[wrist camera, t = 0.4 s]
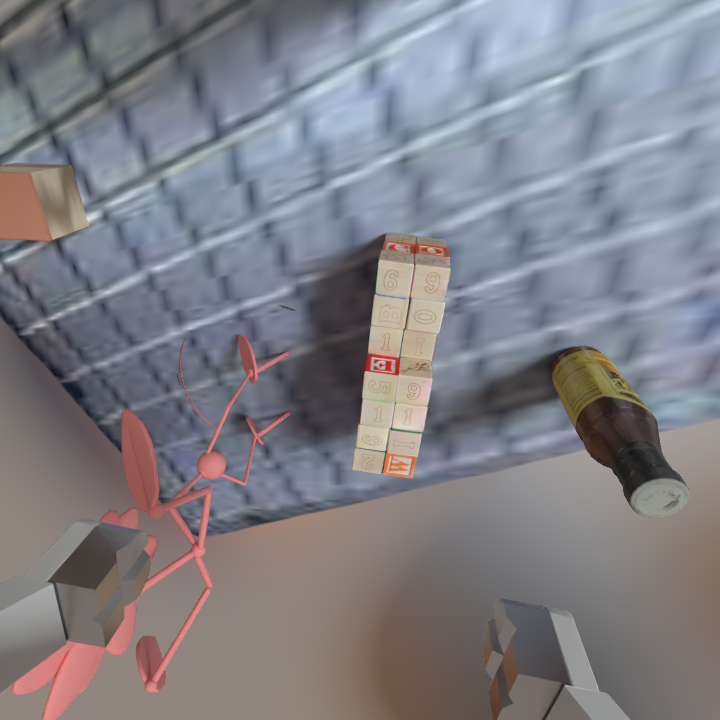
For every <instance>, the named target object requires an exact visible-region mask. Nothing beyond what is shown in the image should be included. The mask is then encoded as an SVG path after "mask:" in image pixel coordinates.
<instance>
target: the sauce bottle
mask: <svg viewBox="0 0 720 720" xmlns="http://www.w3.org/2000/svg"><path fill="white" fill-rule="evenodd" d="M551 374H552V379H553V384H554V387H555V389H556V391H557V393H558V395H559V397H560V399H561V401H562V403H563V405H564V407H565V409H566V411H567V413H568V415H569V418H570V420H571V422H572V424H573V426H574V428H575V430H576V432H577V433H578V435H579V437H580V439H581V440H582V441H583V442H584V445H585V447H586V450H587V451H588V453H589V454H590V455H591V457H592V458H594V459H595V460H596V461H597V462H599V463H600V464H602V465H603V466H606V467H609V468H611V469H612V470H613V472H614V474H615V475H616V476H617V477H618V479H619V481H620V483H621V484H622V486H623V492H624V496H625V497H626V499H627V501H628V503H629V504H630V506H631V507H632V509H633V510H634V511H635V512H636V513H638V514H640V515H642V516H648V517H654V518H658V517H664V516H668V515H671V514H674V513H676V512H677V511H679V510H680V509H681V508H682V507H683V506H684V505H685V504H686V502H687V501H688V498H689V489H688V487H687V485H686V484H685V482H684V481H683V479H682V477H681V476H680V475H679V474H678V473H677V472H676V471H674V470H673V469H672V468H671V467H670V465H669V464H668V463H667V461H666V460H665V458H664V456H663V454H662V451H661V445H660V439H659V433H658V425H657V421H656V419H655V417H654V416H653V414H652V413H651V412H650V410H649V409H648V408H647V407H646V405H645V404H644V403H643V401H642V400H641V399H640V398H639V396H638V395H637V394H636V392H635V391H634V390H633V389H632V387H631V386H630V385H629V383H628V382H627V381H626V380H625V379H624V377H623V376H622V375H621V373H620V372H619V371H618V370H617V368H616V367H615V366H614V364H613V363H612V362H611V361H610V359H609V358H608V357H607V356H605V355H604V354H602V353H601V352H599V351H598V350H596V349H594V348H592V347H585V346H584V347H576V348H572V349H569V350H567V351H565V352H564V353H562V354H561V355H560V356H559V357H558V358H556V360H555V361H554V363H553V364H552V370H551Z"/></svg>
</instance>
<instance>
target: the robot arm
mask: <svg viewBox="0 0 720 720" xmlns="http://www.w3.org/2000/svg"><path fill="white" fill-rule="evenodd" d="M148 543H149V541H148V535H147V532H145V531H140V530H136V529H131V528H127V527H122V526H118V525H113V524H109V523H104V522H99V521H94V520H89V519H84V518H82V519H80V520H78V521H76V522H74V523H73V524H72V525H71V526H70V527H69V529H67V530H66V532H65V533H64V534H63V535H62V536H61V537H60V538H59V539H58V540H57V541H56V542H55V543H54V544H53V545H52V546H51V547H50V548H49V549H48V550H47V551H46V553H45V554H44V555H43V556H42V557H41V558H40V559H39V560H38V561H37V562H36V563H35V564H34V565H33V566H32V567H31V568H30V569H29V570H28V571H27V573H25V575H24V576H23V577H20V576H14V577H12V578H10V579H8V580H6V581H4V582H2V583H0V693H1V692H2V691H3V690H5V689H6V688H8V687H9V686H10V685H12V684H13V683H14V682H16V681H17V680H18V679H20V678H21V677H23V676H24V675H25V674H27V673H28V672H29V671H31V670H32V669H33V668H35V667H36V666H37V665H39V664H40V663H41V662H43V661H44V660H46V659H47V658H48V657H50V656H51V655H52V654H54V653H55V652H56V651H58V650H59V649H60V648H62V647H63V646H64V645H66V644H67V641H69V642H75V643H81V644H87V645H93V646H99V647H104V648H106V647H107V645H108V643H109V642H110V640H111V639H112V637H113V636H114V634H115V633H116V631H117V629H118V628H119V626H120V625H121V623H122V622H123V620H124V619H125V616H124V607H126V606H127V605H129V604H130V603H132V602H134V601H135V600H137V598H138V596H139V595H140V593H141V592H142V590H143V588H144V586H145V583H146V581H147V578H148V575H149V572H150V565H151V562H150V556H149V555H148V553H147V552H146V551H145V550H144V549H145V547H146V546H147V544H148ZM493 610H494V616H495V618H494V619H492V620H490V621H489V622H488V623H487V626H486V629H485V633H484V641H483V657H484V664H485V669H486V671H487V672H488V674H489V675H490V677H491V678H492V679H493V681H492V684H491V686H490V689H489V691H488V692H489V699H490V706H491V713H492V720H630V719H629V718H628V717H627V716H626V715H625V713H624V712H623V711H622V710H621V709H620V708H619V707H618V706H617V704H616V703H615V702H614V701H613V700H612V699H611V697H610V696H609V695H608V694H607V693H603V692H600V691H599V689H598V686H597V683H596V680H595V678H594V675H593V672H592V669H591V667H590V664H589V661H588V659H587V655H586V653H585V650H584V647H583V644H582V642H581V639H580V636H579V633H578V630H577V628H576V625H575V622H574V619H573V617H572V615H571V614H570V613H569V611H564V610H560V609H554V608H549V607H543V606H541V605H535V604H529V603H523V602H518V601H513V600H507V599H501V598H499V599H498V600H497V601H496V603H495V605H494V608H493Z"/></svg>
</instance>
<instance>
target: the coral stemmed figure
mask: <svg viewBox="0 0 720 720" xmlns="http://www.w3.org/2000/svg"><path fill="white" fill-rule="evenodd" d="M280 306H282V305H280ZM283 307H285V306H283ZM286 308H288V307H286ZM289 309H291V308H289ZM292 310H294V309H292ZM295 311H296V310H295ZM242 336H243V335H242ZM242 336H241V335H238V342H239V348H240V354H241V359H242V363H243V366H244V370H245V372H246V375H247V376H246V378H245V379H244V381H243V382H242V384H241V385H240V387H239V388H238V390H237V391H236V393H235V394H234V396H233V397H232V399H231V400H230V402H229V403H228V405H227V408H226V410H225V412H224V414H223V416H222V419H221V421H220V423H219V425H218V428H217V430H216V429H215V428H214V427H212V426H211V425H210V424H209V423H208V422H207V421H206V420H205V419H204V418H203V417H202V415H201V414H200V413H199V412H198V410H197V409H196V408H195V406H194V404H193V403H192V401H191V400H190V401H191V403H192V404H193V406H194V408H195V409H196V410H197V412H198V413H199V414H200V415H201V417H202V418H203V419H204V420H205V421H206V422H207V423H208V424H209V425H210V426H211V427H212V428H214V429H215V430H216V432H215V434H214V436H213V438H212V441H211V443H210V445H209V447H208V449H207V452H206V453H204V454H202V455H201V456H200V458H199V459H198V461H197V471H198V473H199V474H198V475H197V476H196V477H195V478H194V479H193V480H192V481H191V482H190V483H188V484H187V485H186V486H185V487H184V488H183V489H182V490H181V491H180V492H179V493H178V494H176V495H175V496H174V497H173V498H172V499H171V500H170V501H168V502H166V503H163V504H157V502H158V496H159V491H160V489H159V478H158V467H157V459H156V455H155V451H154V447H153V443H152V440H151V438H150V436H149V433H148V431H147V429H146V427H145V425H144V423H143V422H142V421H141V420H140V419H139V418H138V417H137V416H136V415H135V414H134V413H133V412H132V411H130V410H129V409H123V412H122V455H123V461H124V469H125V475H126V478H127V482H128V485H129V489H130V492H131V494H132V496H133V498H134V500H135V502H136V504H137V505H138V507H139V509H140V510H141V511H144V512H147V513H148V515H149V517H150V518H152V519H158V518H160V517H161V516H162V515H163V514H164V512H166V511H169V513H170V514H171V516H172V517H173V519H174V520H175V521H176V523H177V524H178V526H179V527H180V529H181V530H182V532H183V533H184V534H185V536H186V537H187V539H188V540H189V542H190V543H191V544H192V548H191V551H189V552H188V553H186V554H185V555H184V556H182V557H181V558H179V559H177V560H176V561H174V562H173V563H172V564H170V565H168V566H167V567H166V568H164V569H162V570H161V571H160V572H158V573H156V574H155V575H154V576H152V577H151V578H149V579H148V580H147V581H146V583H145V586H144V588H143V590H142V592H144V591H145V590H147V589H148V588H149V587H151V586H152V585H154V584H155V583H157V582H158V581H159V580H161V579H162V578H164V577H165V576H167V575H168V574H170V573H171V572H173V571H174V570H175V569H177V568H178V567H180V566H181V565H183V564H184V563H186V562H187V561H189V560H190V559H192V558H193V557H194V559H195V561H196V564H197V566H198V568H199V571H200V573H201V575H202V577H203V579H204V582H205V583H206V586H207V588H205V590H204V592H203V593H202V595H201V597H200V598H199V600H198V602H197V603H196V605H195V607H194V608H193V610H192V612H191V613H190V615H189V617H188V618H187V620H186V622H185V623H184V625H183V627H182V629H181V630H180V632H179V634H178V635H177V637H176V639H175V640H174V642H173V643H172V645H171V647H170V648H169V650H168V652H167V653H166V655H165V657H164V658H163V659H162V656H161V652H160V649H159V646H158V643H157V641H156V638H155V637H153V636H143V637H142V638H141V639H140V640H139V642H138V644H137V647H136V658H137V664H138V669H139V672H140V675H141V677H142V679H143V682H144V684H145V691H146V692H148V693H151V692H154V693H157V692H158V691H160V689H161V688H162V687H163V686H164V685H165V678H166V675H165V668H166V666H167V665H168V663H169V661H170V660H171V658H172V656H173V655H174V653H175V651H176V650H177V648H178V646H179V645H180V643H181V641H182V639H183V638H184V636H185V634H186V633H187V631H188V629H189V628H190V626H191V624H192V622H193V621H194V619H195V617H196V616H197V614H198V612H199V611H200V609H201V607H202V605H203V604H204V602H205V600H206V599H207V597H208V595H209V594H210V592H211V590H209V588H211V587H213V583H212V581H211V578H210V576H209V574H208V572H207V569H206V567H205V565H204V562H203V560H202V558H201V556H203V555H204V553H205V551H206V548H205V545H204V542H205V536H206V530H207V524H208V517H209V510H210V504H211V497H212V490H213V488H212V486H211V485H209V486H207V487H205V488H202V489H199V490H197V491H194V492H192V493H189V494H186V495H184V494H185V493H186V492H187V491H188V490H189V489H190V488H191V487H192V486H193V485H194V484H195V483H196V482H197V481H198V480H199V479H200V478H201V477H203V478H205V479H209V480H211V479H216V478H218V477H219V476H221V477H224V478H226V479H229V480H231V481H234V482H236V483H239V484H241V485H244V486H245V485H246V484H247V481H248V476H249V471H250V466H251V462H252V457H253V452H254V447H255V443H256V441H259V443H260V444H261V445H263V444H264V443H265V442H264V439H263V437H262V435H263V434H265V433H266V432H267V431H269V430H270V429H272V428H273V427H274V426H276V425H277V424H279V423H280V422H281V421H283V420H284V419H285V418H287V417H288V416H290V412H287V413H285V414H284V415H282V416H281V417H280V418H278V419H277V420H275V421H274V422H273V423H271V424H270V425H268V426H267V427H266V428H264V429H263V430H261V431H260V432H259V430H258V428H257V427H256V425H255V423H254V421H253V420H252V419H251V418H250V417H249V416H247V417H246V421H247V423H248V425H249V427H250V429H251V431H252V432H253V434H254V435H252V438H253V443H252V448H251V452H250V456H249V461H248V465H247V469H246V474H245V478H244V482H242V481H240V480H238V479H235V478H233V477H230V476H228V475H226V474H223V472H224V470H225V468H226V461H225V458H224V457H223V455H222V454H221V453H219V452H217V451H211V450H212V447H213V445H214V443H215V441H216V438H217V436H218V434H219V433H220V430H221V427H222V425H223V423H224V421H225V419H226V416H227V414H228V412H229V410H230V408H231V406H232V404H233V403H234V401H235V400H236V398H237V396H238V395H239V393H240V392H241V390H242V389H243V387H244V385H245V384H246V382H247V381H248V379H249V380H250V381H251V383H255V382H257V378H258V373H259V372H261V371H262V370H264V369H266V368H268V367H269V366H271V365H273V364H275V363H276V362H278V361H280V360H282V359H283V358H285V357H287V356H289V355H290V352H289V351H286V352H285V353H283V354H281V355H279V356H277V357H276V358H274V359H272V360H270V361H269V362H267V363H265V364H263V365H261V366H260V367H258V368H257V365H256V361H255V356H254V353H253V350H252V347H251V345H250V343H249V341H248V339H247V338H246V337H245V336H243V337H244V338H243V337H242ZM184 342H185V341H184ZM183 346H184V344H183ZM182 349H183V347H182ZM181 354H182V351H181ZM180 370H181V358H180ZM177 376H178V374H177ZM181 377H182V375H181ZM178 380H179V378H178ZM182 381H183V379H182ZM179 384H180V383H179ZM183 385H184V383H183ZM184 388H185V386H184ZM185 391H186V389H185ZM186 393H187V391H186ZM187 395H188V393H187ZM188 398H189V396H188ZM189 399H190V398H189ZM192 410H193V409H192ZM193 411H194V410H193ZM194 413H195V412H194ZM195 414H196V413H195ZM196 415H197V414H196ZM220 434H222V433H220ZM222 435H223V434H222ZM183 495H184V496H183ZM204 495H205V499H204V506H203V511H202V516H201V522H200V530H199V537H198V542H197V541H196V539H195V537H194V536H193V534H192V533H191V531H190V530H189V528H188V527H187V525H186V523H185V522H184V520H183V519H182V517H181V516H180V514H179V513H178V511H177V509H176V507H178V506H180V505H183V504H185V503H187V502H190V501H192V500H194V499H197V498H199V497H202V496H204ZM138 519H139V513H138V510H137V508H136V507H135V508H130V509H128V510H127V511H126V512H124V513H123V514H122V515H121V516H120V517H119V515H118V513H117V511H115V510H109V511H108V512H107V513H106V514H105V515H104V516H103V517H102V518H101V520H100V522H104V523H109V524H113V525H118V526H122V527H127V528H131V529H136V530H137V527H138ZM148 541H149V543H148V544H147V546H146V547H145V549H144V550H145V551H146V552H147V553H148V555H149V556H150V562H151V560H152V558H153V556H154V554H155V552H156V549H157V544H158V540H157V539H156V537H155V536H152V535H148ZM142 592H141V593H142ZM141 593H140V595H141ZM140 595H139V596H138V598H139V597H140ZM138 598H137V600H138ZM137 600H135V601H134V602H132V603H130V604H129V605H127V606H126V607H124V616H125V619H124V620H123V622H122V623H121V625H120V626H119V628H118V629H117V631H116V633H115V634H114V636H113V637H112V639H111V640H110V642H109V643H108V645H107V647H106V648H104V647H99V646H93V645H87V644H81V643H75V642H69V641H67V644H66V645H64V646H63V647H62V648H60V649H59V650H58V651H56V652H55V653H54V654H52V655H51V656H50V657H48V658H47V659H46V660H44V661H43V662H41V663H40V664H39V665H37V666H36V667H35V668H33V669H32V670H31V671H29V672H28V673H27V674H25V675H24V676H23V677H21V678H20V679H18V680H17V681H16V682H14V683H13V687H12V692H14V693H15V694H17V695H20V694H25V693H30V692H34V691H35V690H37V689H38V688H40V687H42V686H43V685H44V684H46V683H48V682H49V681H50V680H52V679H53V678H54V677H55V676H56V677H55V679H54V682H53V684H52V687H51V690H50V693H49V696H48V699H47V702H46V705H45V708H44V712H43V716H42V720H55V719H57V718H58V717H59V716H60V715H61V714H62V713H63V712H64V710H65V709H66V708H67V707H68V706H69V705H70V704H71V702H72V701H73V700H74V698H75V697H76V695H77V694H80V693H82V692H83V691H84V690H85V688H86V687H87V685H88V684H89V683H90V681H91V679H92V677H93V675H94V674H95V672H96V670H97V668H98V666H99V664H100V662H101V660H102V657H103V655H104V652H105V650H107V651H108V652H109V653H110V654H113V655H115V656H116V655H120V654H123V652H124V651H125V650H126V648H127V647H128V646H129V643H130V641H131V638H132V635H133V630H134V625H135V619H136V601H137Z"/></svg>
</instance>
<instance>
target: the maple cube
mask: <svg viewBox="0 0 720 720" xmlns="http://www.w3.org/2000/svg"><path fill="white" fill-rule="evenodd" d="M88 226H89V224H88V221H87V217H86V214H85V210H84V207H83V203H82V200H81V196H80V193H79V189H78V186H77V182H76V179H75V175H74V172H73V168H72V165H50V164H24V163H14V164H7V165H0V238H3V239H22V240H41V241H51V240H54V239H56V238H59V237H62V236H64V235H67V234H70V233H72V232H75V231H78V230H80V229H83V228H86V227H88Z"/></svg>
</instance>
